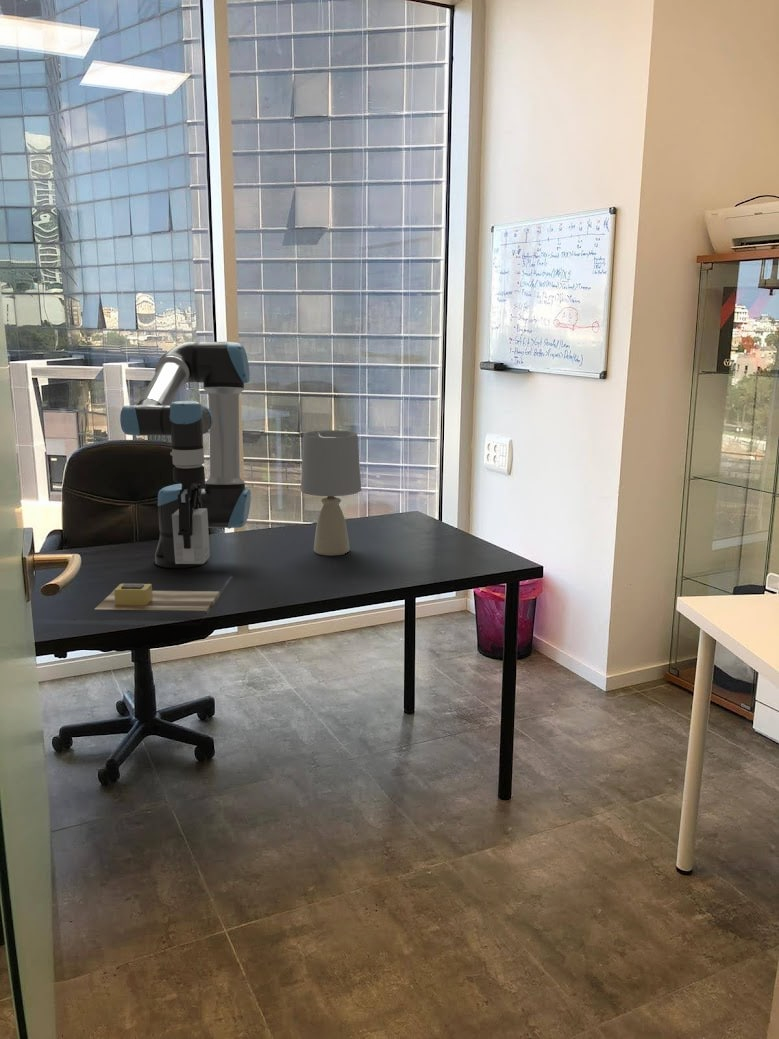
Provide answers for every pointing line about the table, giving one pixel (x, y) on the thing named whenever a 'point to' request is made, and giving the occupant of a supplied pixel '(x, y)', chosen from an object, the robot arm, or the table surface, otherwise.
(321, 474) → the lamp
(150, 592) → the block
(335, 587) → the table surface
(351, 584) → the table surface
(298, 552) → the table surface
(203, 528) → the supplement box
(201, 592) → the plywood panel
